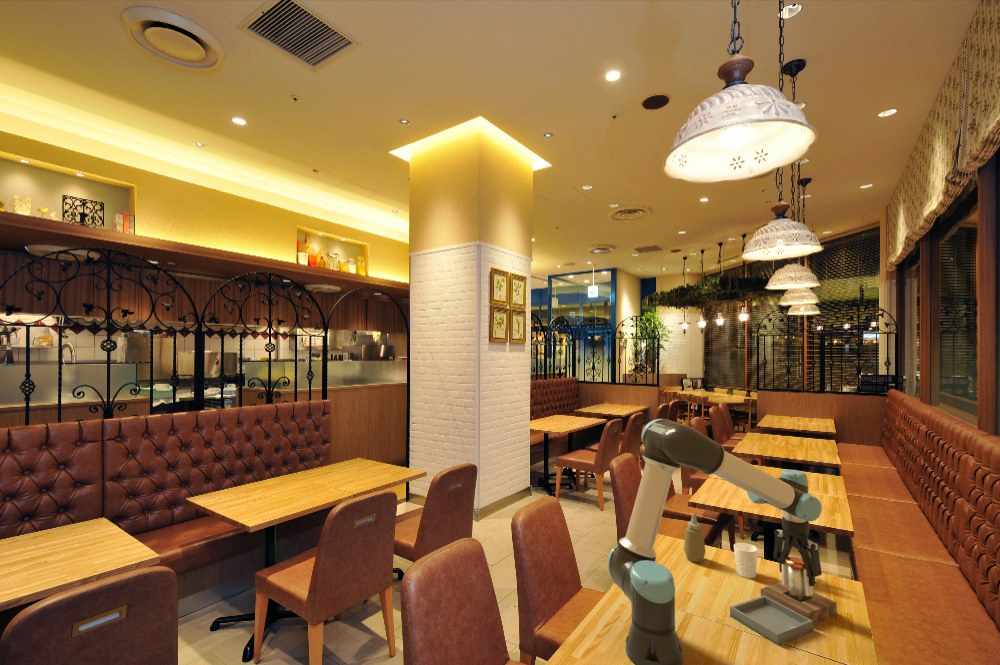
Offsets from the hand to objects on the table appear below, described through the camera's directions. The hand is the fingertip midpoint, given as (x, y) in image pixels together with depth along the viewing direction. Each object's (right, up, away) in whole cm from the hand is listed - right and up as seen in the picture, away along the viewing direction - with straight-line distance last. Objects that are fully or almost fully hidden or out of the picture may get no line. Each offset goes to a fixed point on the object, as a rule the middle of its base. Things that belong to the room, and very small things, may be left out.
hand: (797, 588), depth 154 cm
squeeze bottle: (-19, -7, +35) cm, 41 cm away
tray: (-14, -6, -9) cm, 17 cm away
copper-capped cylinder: (0, -6, 0) cm, 6 cm away
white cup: (-5, -7, +23) cm, 24 cm away
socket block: (0, -6, 0) cm, 6 cm away
